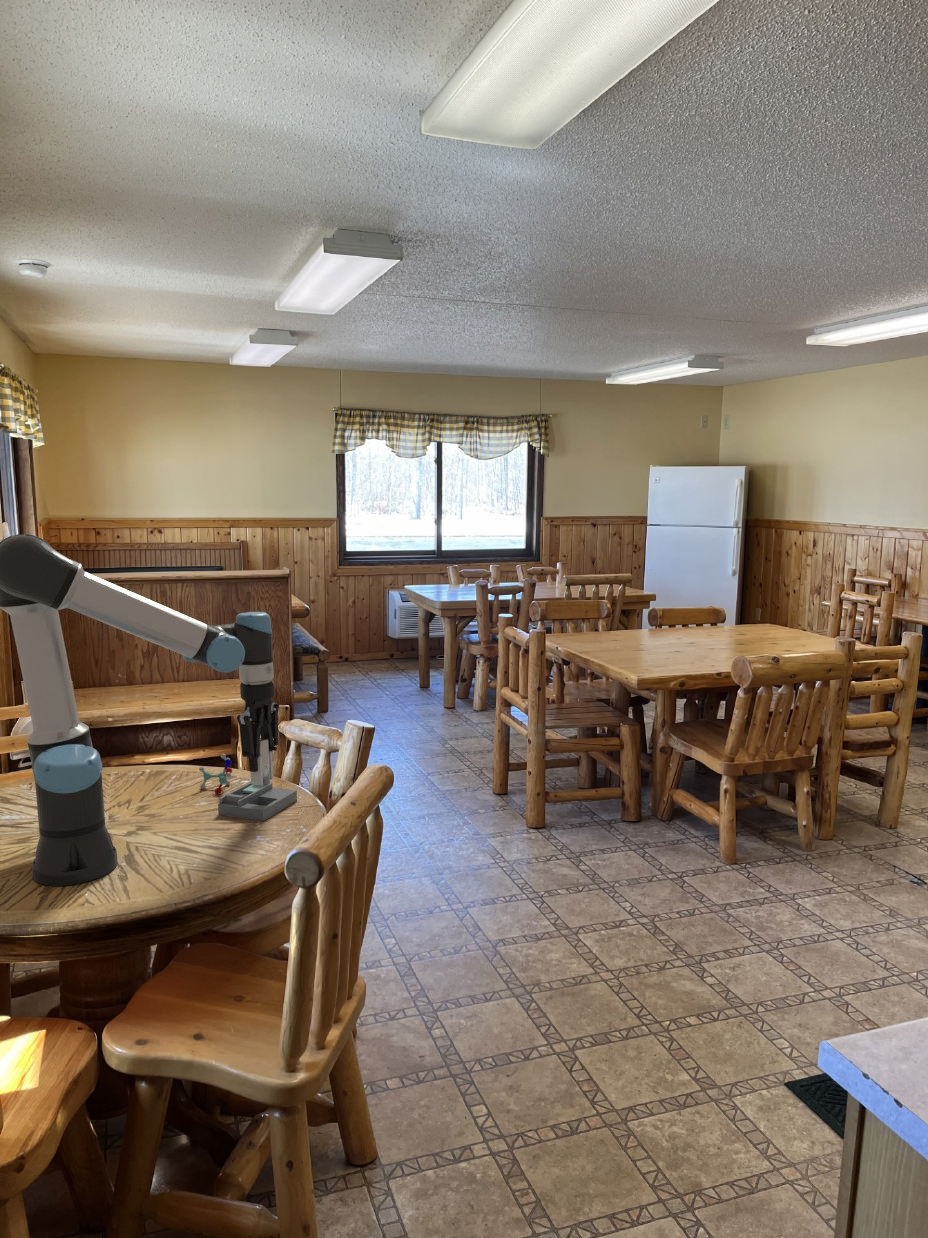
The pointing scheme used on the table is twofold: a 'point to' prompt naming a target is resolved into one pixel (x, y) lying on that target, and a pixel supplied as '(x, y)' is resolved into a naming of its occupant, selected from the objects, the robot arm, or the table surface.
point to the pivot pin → (265, 759)
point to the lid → (253, 788)
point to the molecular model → (221, 776)
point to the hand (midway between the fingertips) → (262, 781)
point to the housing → (256, 802)
